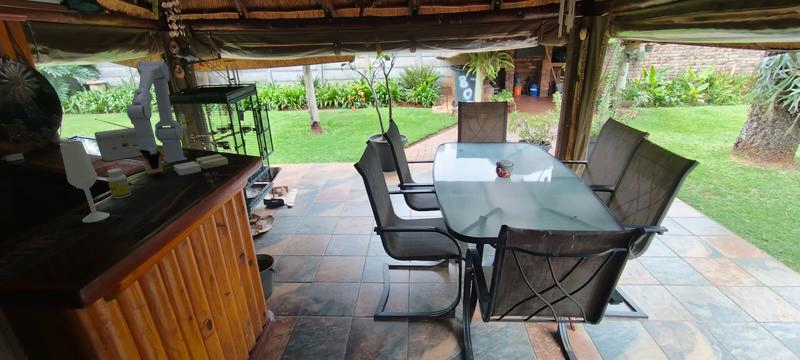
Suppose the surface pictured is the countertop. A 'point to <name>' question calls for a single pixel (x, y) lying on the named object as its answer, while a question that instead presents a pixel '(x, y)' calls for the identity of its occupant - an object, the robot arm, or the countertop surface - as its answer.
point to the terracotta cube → (149, 169)
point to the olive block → (211, 161)
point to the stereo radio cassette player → (117, 143)
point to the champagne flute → (81, 174)
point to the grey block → (187, 168)
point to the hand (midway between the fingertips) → (153, 167)
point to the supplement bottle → (118, 183)
